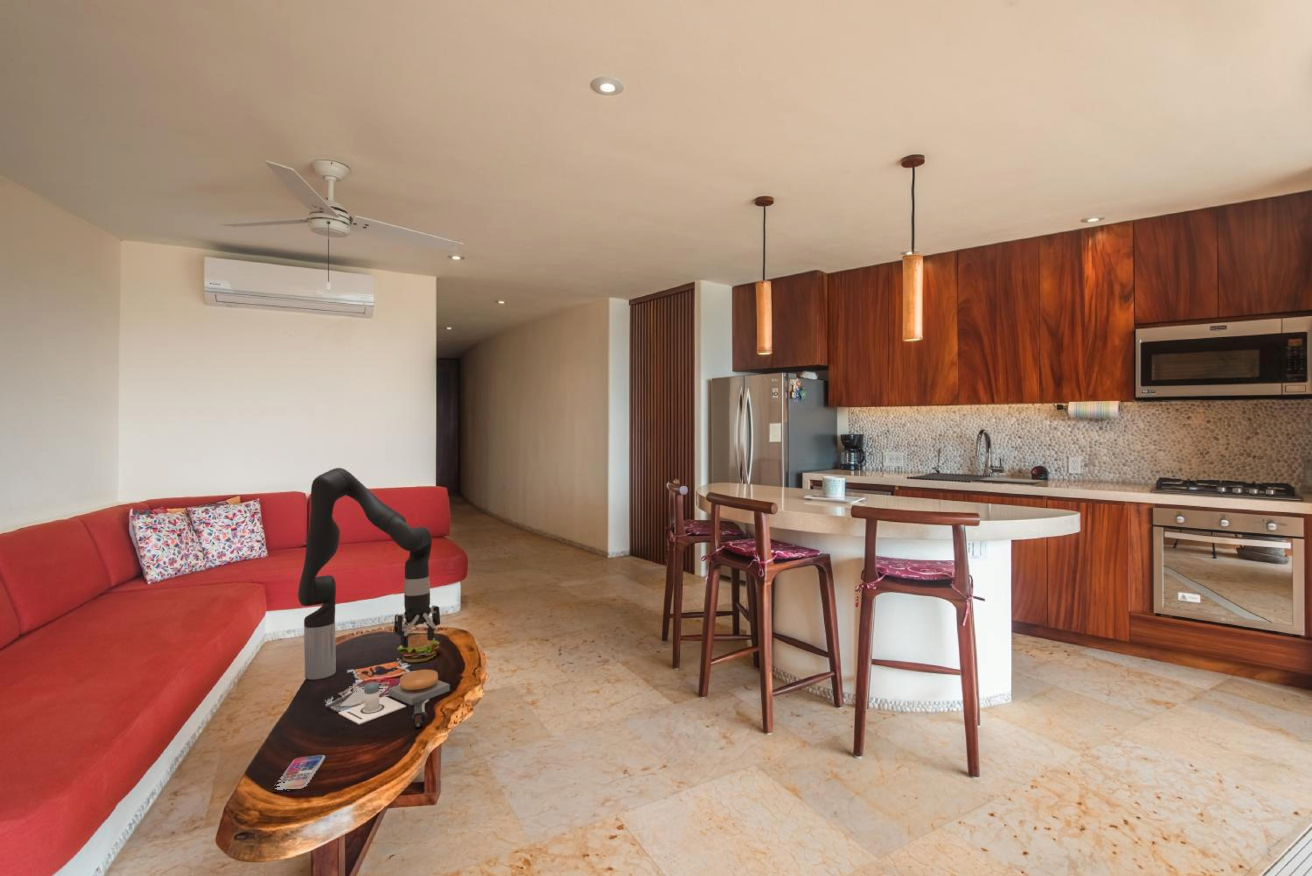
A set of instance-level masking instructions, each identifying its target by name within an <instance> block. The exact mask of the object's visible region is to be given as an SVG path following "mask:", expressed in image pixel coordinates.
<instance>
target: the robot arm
mask: <svg viewBox="0 0 1312 876" xmlns="http://www.w3.org/2000/svg"><path fill="white" fill-rule="evenodd" d="M346 496H347V497H349V498H351V499H353V500H355V501H356V502H357V503H358V504H359V506H360V507H361V508H362V510H363V512H364V515H365V517H366V519H367V520H368V521H369V522H370V523H371V524H372V525H373V526H375V527H376V528H377V529H379V530H380V531H382V532H383V533H386V534H387V535H388V536H389V537H390V538H391V539H392V540H393V542H395V543H396V544H397V546H399V547H400V548H401V549H403V550H405V551H407V552H409V556H408V558H407V559H406V561H405V562H404V584H403V594H404V595H403V596H404V598H403V600H404V601H403V604H404V605H403V606H404V613H403V614H398V613H397V614H395V615H394V623H393V624H394V627H393V628H394V629H393V634H394V635H397V636H399V637H400V646H402V647H403V648H408V638H409V635H408V634H409V633H410V631H411V630H413V628H414V627H416V626H419V625H424V624H425V625H426V626H427V628H426V631H427V632H426V633H427V639H428V640H429V641H432V640H433V638H435V628H436V627H437V626H439V625H440V624H441V615H440V607H439V606H438V605H431V583H430V572H429V571H430V569H429V568H430V566H429V562H430V561H429V560H430V557H431V551H432V545H433V544H432V543H433V538H432V534H431V532H430V530H429V529H428V527H425V526H416V527H412V526H410V525H409V524H408V523H407V522H406V521H407V520H406V517H404V516H403V515H402V514H400V513H399V512H397V511H396V510H394V509H393V508H391V507H390V506H389V505H387V504H385V503H384V502H383V501H382V500H380V499H379V498H378V497H377V496H376V495H375V494H374V493H372V491H370V489H368V488H367V487H366V486H365V485H364V484H363V483H362V482H361V481H359V479H358V478H357V477H355V476H354V475H353V474H352V473H351V472H350V471H348V470H346V469H345V468H342V467H336V468H332V469H330V470H328V471H326V472H323V473H321V474H319V475H318V476H316V477H315V478H314V480H312V483H311V488H310V516H309V523H308V524H309V525H308V532H307V538H306V546H305V556H304V563H303V568H302V572H301V576H300V581H299V585H298V590H297V591H298V592H297V593H298V594H297V597H298V602H299V604H300V605H301V606H304V607H310V606H316V605H317V606H318V605H321V606H320V607H319V608H318V609H317V610H315V611H314V612H312V613H310V614H308V615H306V616H305V617H304V618H303V632H304V633H303V640H304V678H305V679H307V680H321V679H325V678H328V677H329V678H330V677H332V676H334V675H335V673H336V671H337V670H336V665H337V664H336V663H337V661H336V659H337V657H336V600H337V598H336V597H337V596H336V594H337V592H336V591H337V583H336V580H335V578H334V576H333V575H329V574H327V575H321V576H317V575H318V574H319V572H320V571H321V570H322V569H323V567H324V566H326V565H327V564H328V562H330V561H331V559H332V558H333V557H334V556H335V554H336V553H337V551H338V548H339V543H340V536H341V534H340V533H341V531H340V528H339V526H338V524H337V523H336V521H335V519H334V516H333V513H334V508H335V504H336V502H337V501H338V500H339V499H341V498H343V497H346ZM430 605H431V606H430ZM430 614H431V617H432V619H431V617H430ZM404 620H405V621H404Z"/></svg>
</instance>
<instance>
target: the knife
mask: <svg viewBox="0 0 1312 876" xmlns="http://www.w3.org/2000/svg"><path fill="white" fill-rule="evenodd" d="M429 701H430V699H427V700H424V701H422V702H418V703H415V704H414V707H413V710H414V711H413V714H412V717H411V718H412V720H413V721H414V727H415V728H420V727H422V726H423V724H424V722H423V719H426V718H427V717H428V714H427V712H426V709H425V705H426V703H428V702H429Z"/></svg>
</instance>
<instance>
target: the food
mask: <svg viewBox="0 0 1312 876" xmlns="http://www.w3.org/2000/svg"><path fill="white" fill-rule="evenodd" d="M435 639H436V638H435V637H434V638H433V640H432V641H429V640H428V639H427V634H425V633H424V634H421V633H420V634H416V635H411V636H408V648H403V647H402V646H401V645H399V647H397V653H398V654H400V655H401V654H402V656H401V658H402V660H403V662H405V663H406V662H407V663H420V662H421V663H422V662H426V661H429V659H430V660H432V659H433V657H434V656H435V657H436V656H437V653H439V649H440V641H438V640H435ZM435 657H434V658H435ZM431 658H432V659H431Z"/></svg>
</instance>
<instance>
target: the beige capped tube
mask: <svg viewBox="0 0 1312 876" xmlns="http://www.w3.org/2000/svg"><path fill="white" fill-rule="evenodd" d="M369 682H370V683H367V684H365V685H364V701H363V704H364V709H365V711H375V710H377V709H379V707H380V705H379V698H380V694H379V686H380V685H379V682H380V681H369Z"/></svg>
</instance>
